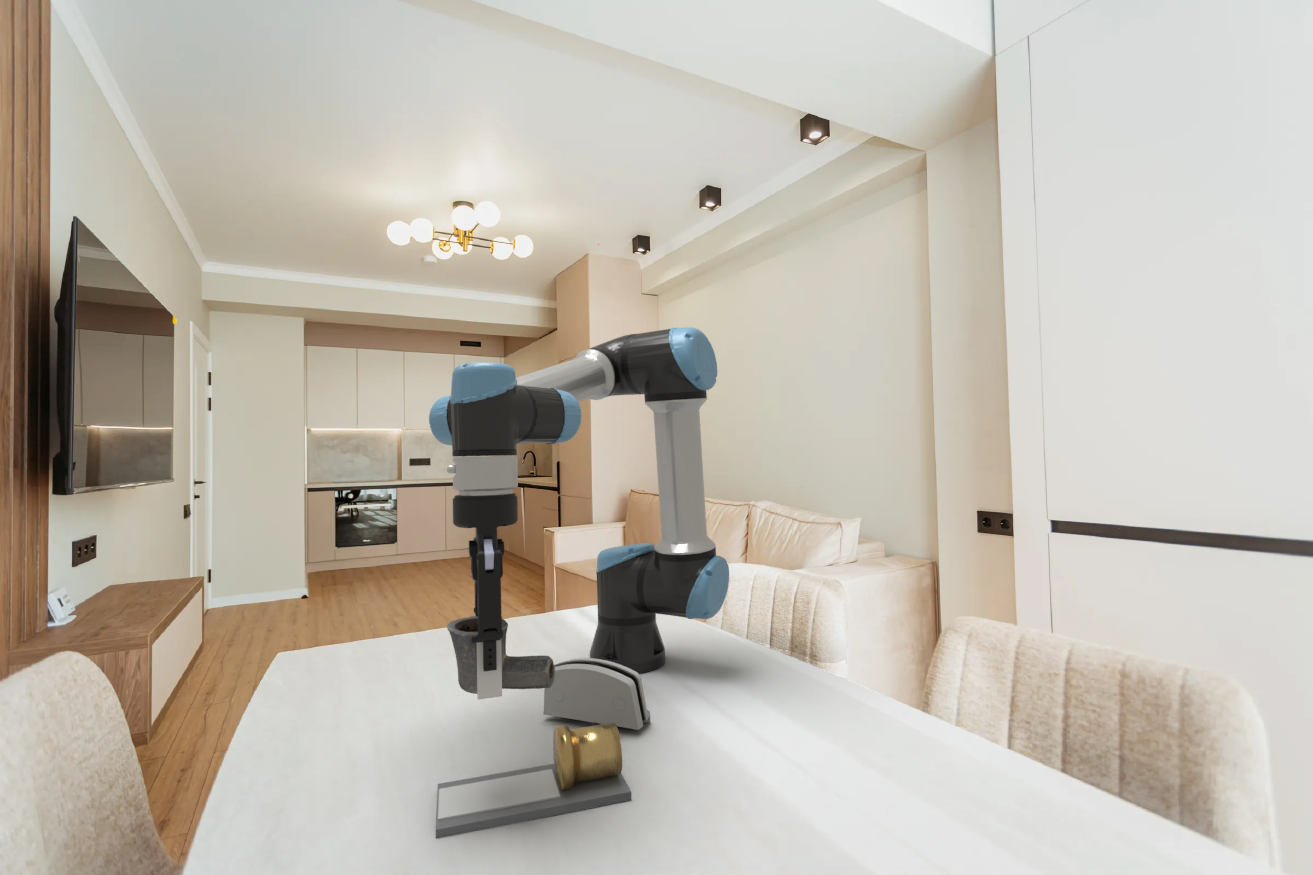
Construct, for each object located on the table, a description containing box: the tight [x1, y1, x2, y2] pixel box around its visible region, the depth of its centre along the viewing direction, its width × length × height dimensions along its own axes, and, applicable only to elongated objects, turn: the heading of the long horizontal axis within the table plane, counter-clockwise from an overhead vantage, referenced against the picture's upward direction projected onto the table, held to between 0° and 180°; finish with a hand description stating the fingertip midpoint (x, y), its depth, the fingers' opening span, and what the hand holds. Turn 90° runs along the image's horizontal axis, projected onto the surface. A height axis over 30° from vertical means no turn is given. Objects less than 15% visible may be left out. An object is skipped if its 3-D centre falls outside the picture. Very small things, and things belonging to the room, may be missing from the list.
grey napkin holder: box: [543, 657, 652, 731], centre depth 96 cm, size 17×5×10 cm, turn 68°
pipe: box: [446, 615, 555, 695], centre depth 75 cm, size 6×13×8 cm, turn 84°
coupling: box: [552, 723, 623, 791], centre depth 78 cm, size 7×7×7 cm
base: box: [435, 763, 632, 839], centre depth 76 cm, size 22×10×1 cm, turn 108°
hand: (488, 686), depth 75 cm, fingers closed on pipe, 6 cm apart
